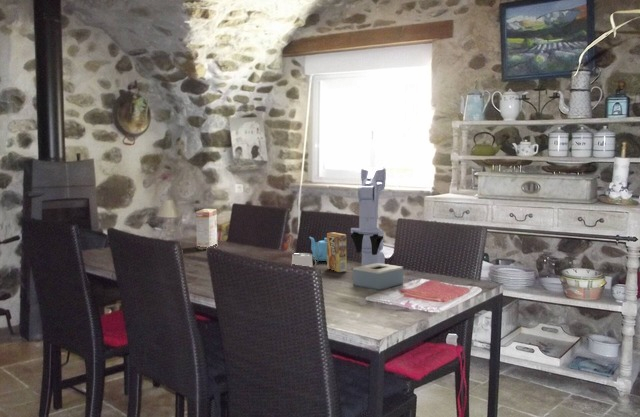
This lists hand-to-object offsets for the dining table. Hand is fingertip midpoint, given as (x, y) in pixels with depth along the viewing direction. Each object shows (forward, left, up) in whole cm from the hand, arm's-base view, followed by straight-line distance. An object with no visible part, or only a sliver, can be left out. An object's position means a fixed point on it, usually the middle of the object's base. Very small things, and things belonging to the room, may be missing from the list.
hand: (366, 253), depth 233 cm
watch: (+20, -12, -11) cm, 26 cm away
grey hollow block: (+3, +8, -10) cm, 13 cm away
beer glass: (+38, +4, -11) cm, 39 cm away
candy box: (-7, -22, -11) cm, 26 cm away
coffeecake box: (-5, -110, -11) cm, 111 cm away
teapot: (-21, -41, -11) cm, 47 cm away
